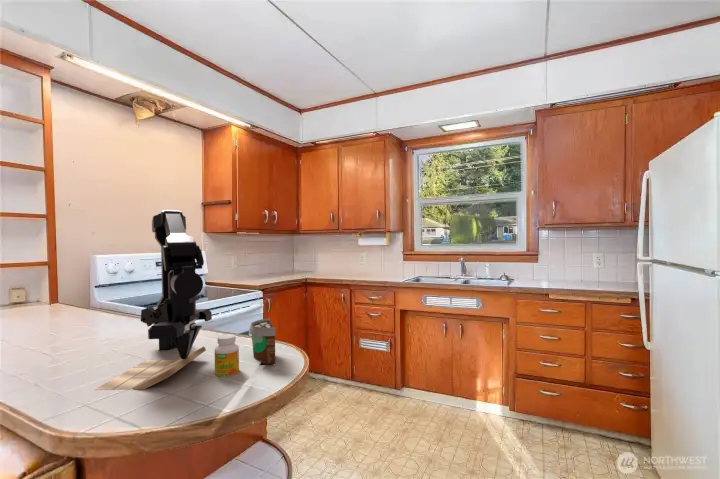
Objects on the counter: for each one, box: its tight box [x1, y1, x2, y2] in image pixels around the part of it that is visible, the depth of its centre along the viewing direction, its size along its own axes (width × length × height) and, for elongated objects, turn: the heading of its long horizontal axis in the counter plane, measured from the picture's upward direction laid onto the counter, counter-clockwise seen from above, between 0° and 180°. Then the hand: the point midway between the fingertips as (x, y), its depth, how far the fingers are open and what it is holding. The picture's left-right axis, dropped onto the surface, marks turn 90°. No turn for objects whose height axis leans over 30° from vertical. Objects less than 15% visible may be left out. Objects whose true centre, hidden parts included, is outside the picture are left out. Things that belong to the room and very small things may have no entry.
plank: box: [132, 346, 207, 390], centre depth 84 cm, size 18×8×1 cm, turn 0°
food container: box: [248, 318, 276, 366], centre depth 95 cm, size 12×6×10 cm, turn 21°
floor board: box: [93, 359, 176, 391], centre depth 84 cm, size 18×8×1 cm, turn 0°
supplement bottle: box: [214, 333, 240, 377], centre depth 84 cm, size 5×5×10 cm
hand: (184, 358), depth 84 cm, fingers closed, pressing on plank
